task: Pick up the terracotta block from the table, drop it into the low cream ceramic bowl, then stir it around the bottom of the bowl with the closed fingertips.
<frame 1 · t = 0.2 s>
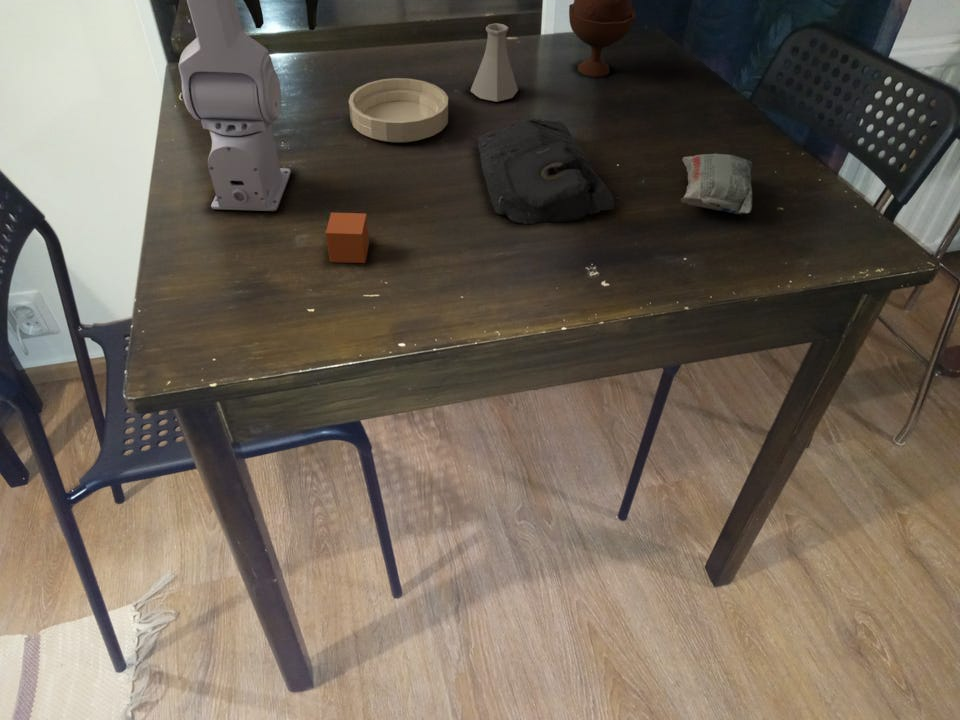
hand: (286, 26, 101), 10 cm above the table, tool pointing down, fingers open, 7 cm apart
flask: (494, 93, 111), on the table
packaged food: (709, 199, 91), on the table
bowl: (400, 122, 103), on the table
dark slate chunk: (540, 177, 93), on the table
ice cream bowl: (593, 71, 118), on the table
block: (350, 252, 80), on the table
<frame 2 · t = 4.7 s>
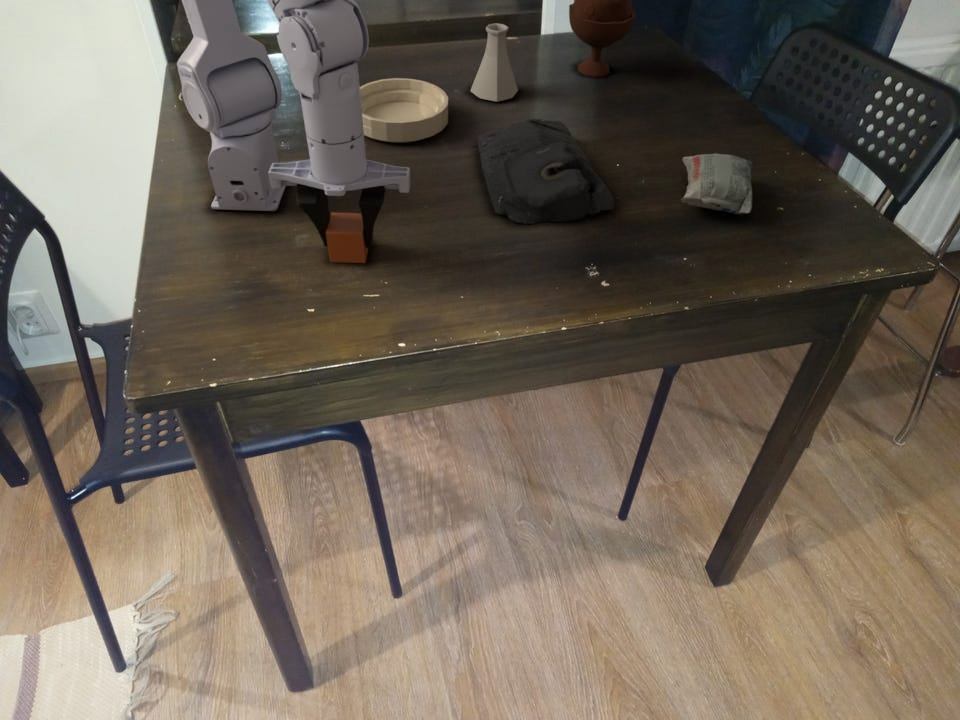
hand: (348, 242, 79), 1 cm above the table, tool pointing down, fingers closed on block, 4 cm apart
block: (350, 252, 80), on the table, touching gripper
everything else where it was.
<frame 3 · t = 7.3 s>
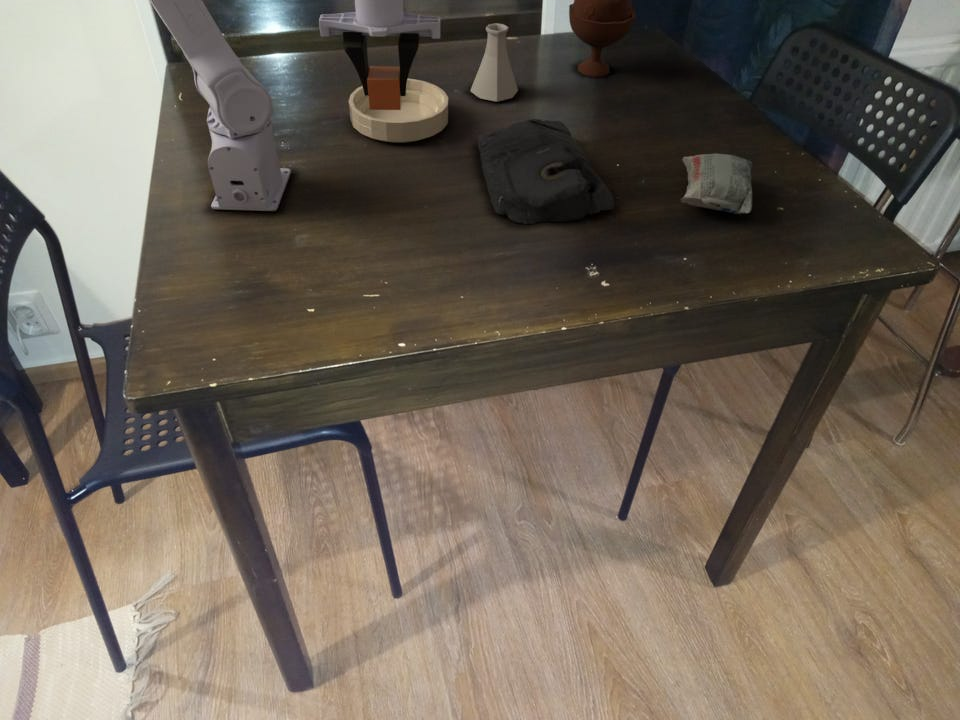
hand: (385, 92, 91), 8 cm above the table, tool pointing down, fingers closed on block, 4 cm apart
block: (386, 103, 92), point 7 cm above the table, touching gripper
everything else where it was.
when the fingers open (2 cm above the table, at t = 10.1 s): block stays where it is, resting on bowl.
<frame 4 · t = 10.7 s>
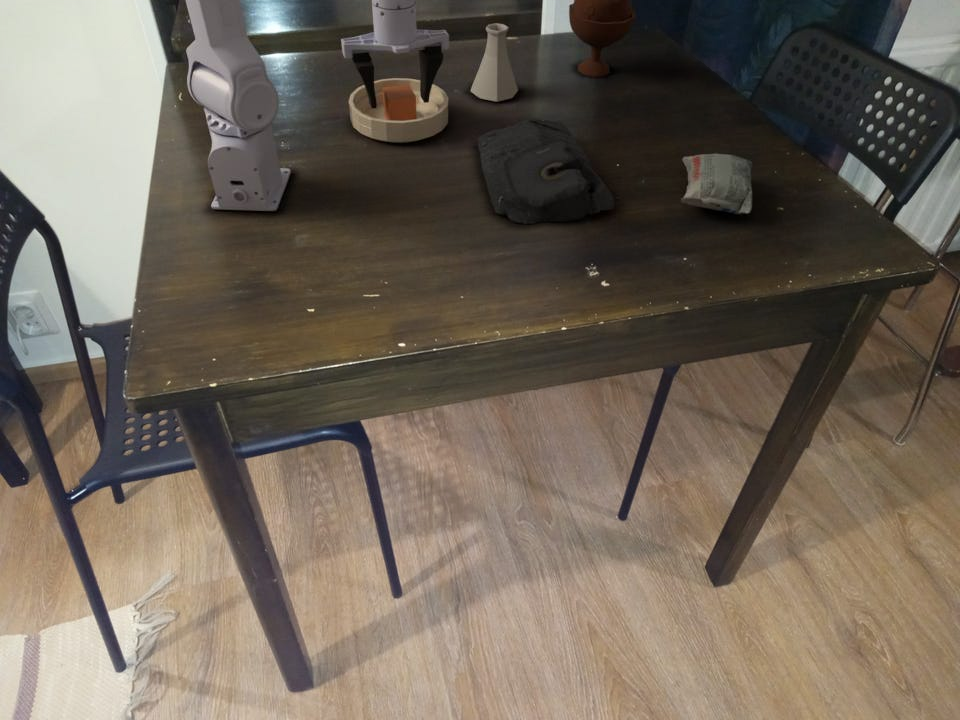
hand: (399, 102, 101), 3 cm above the table, tool pointing down, fingers open, 7 cm apart
block: (400, 118, 102), point 1 cm above the table, touching bowl
everything else where it was.
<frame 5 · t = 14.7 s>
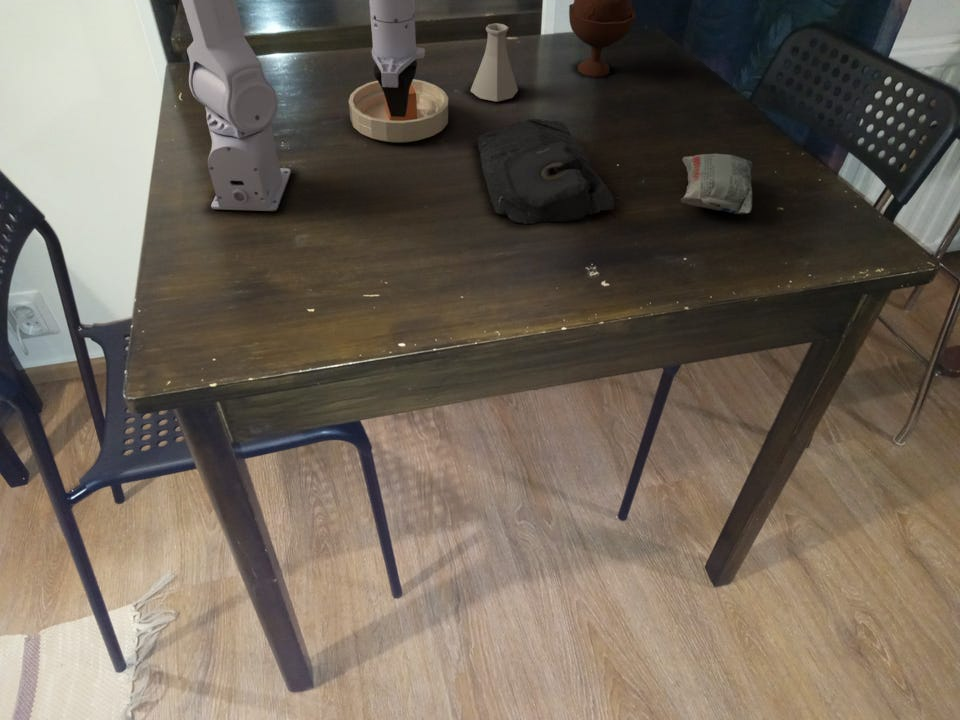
hand: (398, 115, 99), 2 cm above the table, tool pointing down, fingers closed
block: (401, 115, 103), point 1 cm above the table, touching gripper
everything else where it was.
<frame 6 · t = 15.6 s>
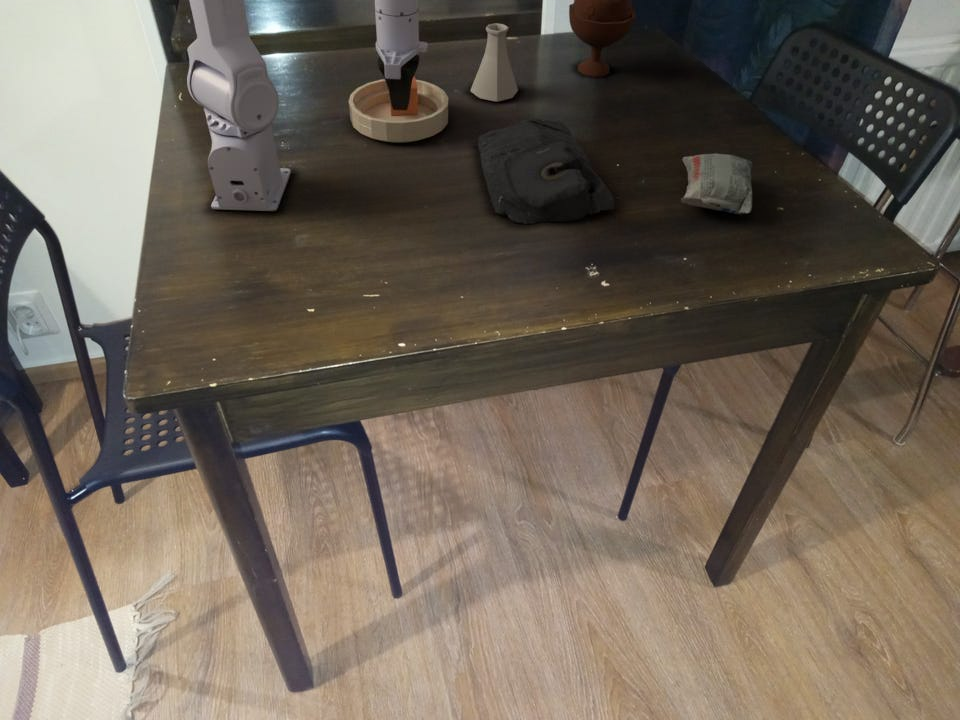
hand: (400, 108, 101), 2 cm above the table, tool pointing down, fingers closed, pressing on block
block: (404, 109, 104), point 1 cm above the table, touching bowl, gripper
everything else where it was.
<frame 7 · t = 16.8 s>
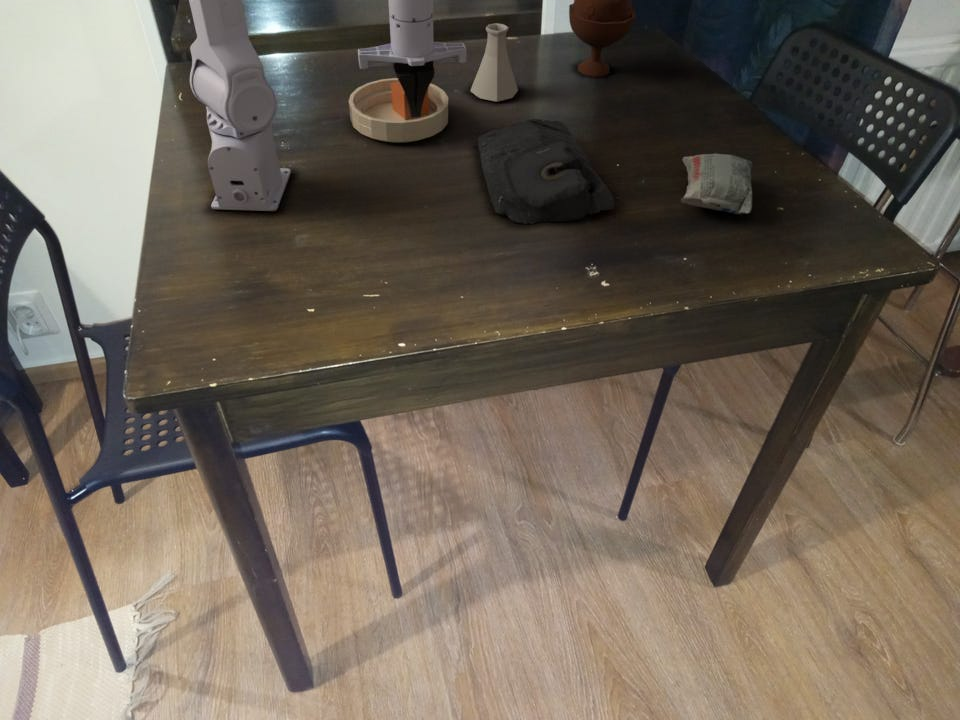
hand: (414, 114, 100), 2 cm above the table, tool pointing down, fingers closed
block: (410, 111, 104), point 1 cm above the table, touching bowl, gripper
everything else where it was.
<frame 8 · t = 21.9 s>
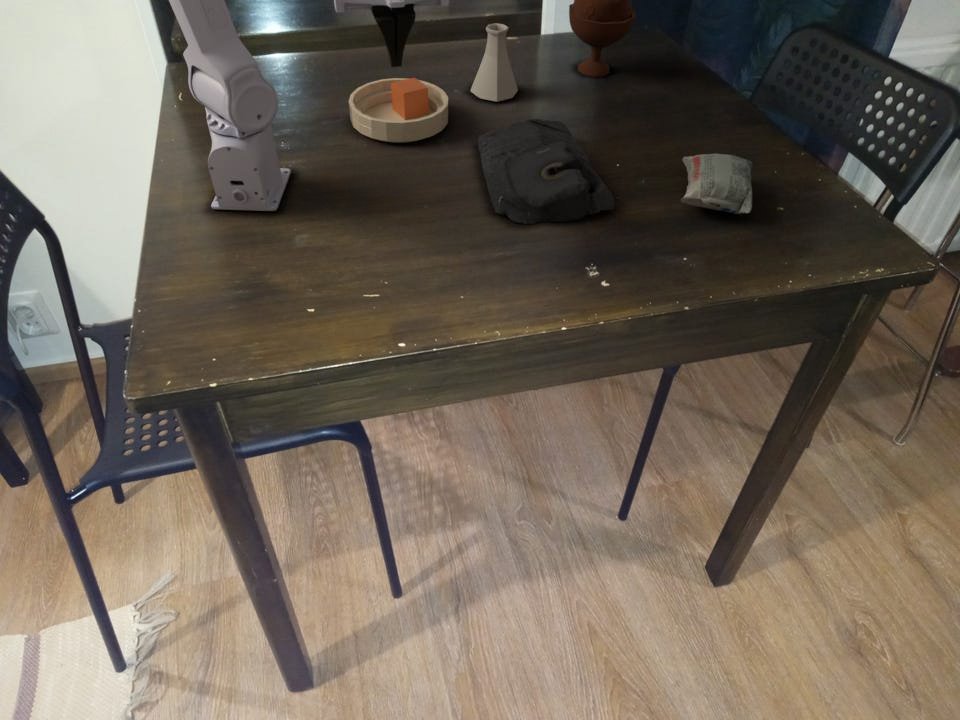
hand: (395, 63, 95), 9 cm above the table, tool pointing down, fingers closed
block: (410, 111, 104), point 1 cm above the table, touching bowl
everything else where it was.
at the end: block inside the target area in the bowl (2.7 cm from its centre), point 0.6 cm above the bowl's base; the gripper is holding nothing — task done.
